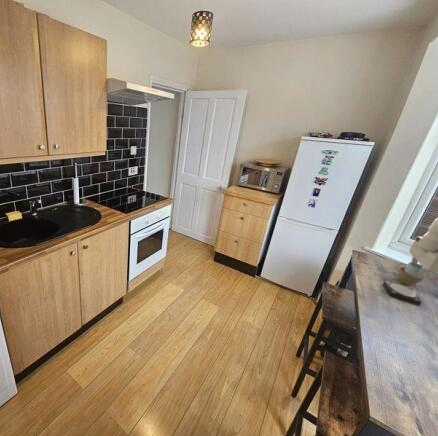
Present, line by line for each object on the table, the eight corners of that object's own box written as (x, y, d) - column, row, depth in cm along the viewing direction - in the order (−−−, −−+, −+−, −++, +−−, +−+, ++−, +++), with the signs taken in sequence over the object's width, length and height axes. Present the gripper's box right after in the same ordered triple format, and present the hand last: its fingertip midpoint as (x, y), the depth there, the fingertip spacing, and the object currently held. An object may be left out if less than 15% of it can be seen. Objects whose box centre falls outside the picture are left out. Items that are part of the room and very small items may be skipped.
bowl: (419, 272, 115) (424, 265, 113) (425, 280, 110) (431, 272, 108) (401, 267, 118) (406, 260, 116) (406, 274, 112) (412, 267, 110)
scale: (409, 292, 121) (412, 288, 119) (419, 305, 112) (422, 301, 111) (382, 284, 125) (385, 279, 124) (389, 296, 116) (392, 291, 115)
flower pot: (387, 275, 134) (394, 265, 131) (407, 278, 132) (414, 268, 129) (401, 286, 125) (408, 276, 122) (422, 290, 123) (430, 279, 120)
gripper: (456, 258, 97) (436, 284, 103) (431, 239, 114) (415, 262, 119) (435, 253, 100) (416, 278, 106) (414, 235, 116) (399, 257, 122)
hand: (416, 269), depth 113 cm, fingers closed on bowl, 7 cm apart
